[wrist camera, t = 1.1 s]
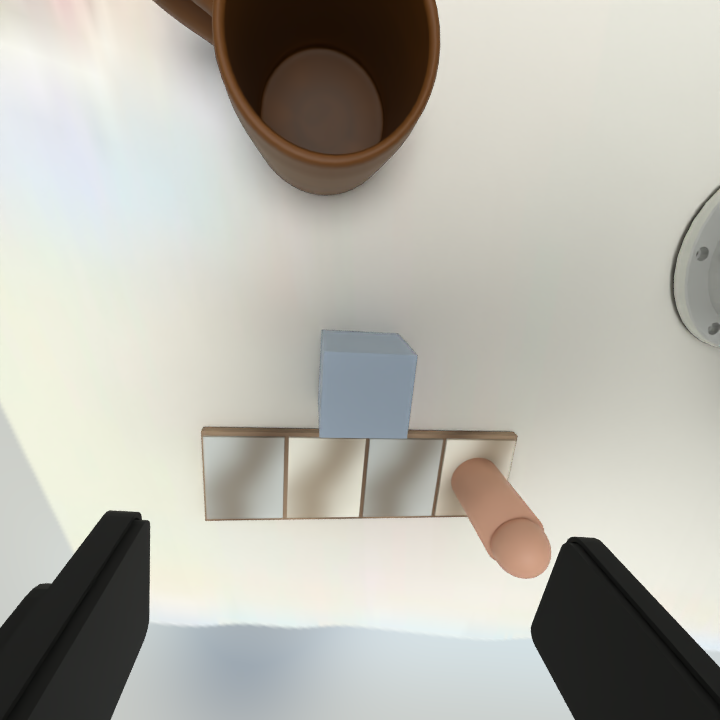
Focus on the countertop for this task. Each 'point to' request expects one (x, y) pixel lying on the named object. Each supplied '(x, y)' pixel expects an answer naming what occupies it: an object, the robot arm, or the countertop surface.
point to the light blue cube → (365, 385)
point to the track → (339, 473)
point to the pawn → (501, 519)
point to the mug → (322, 79)
